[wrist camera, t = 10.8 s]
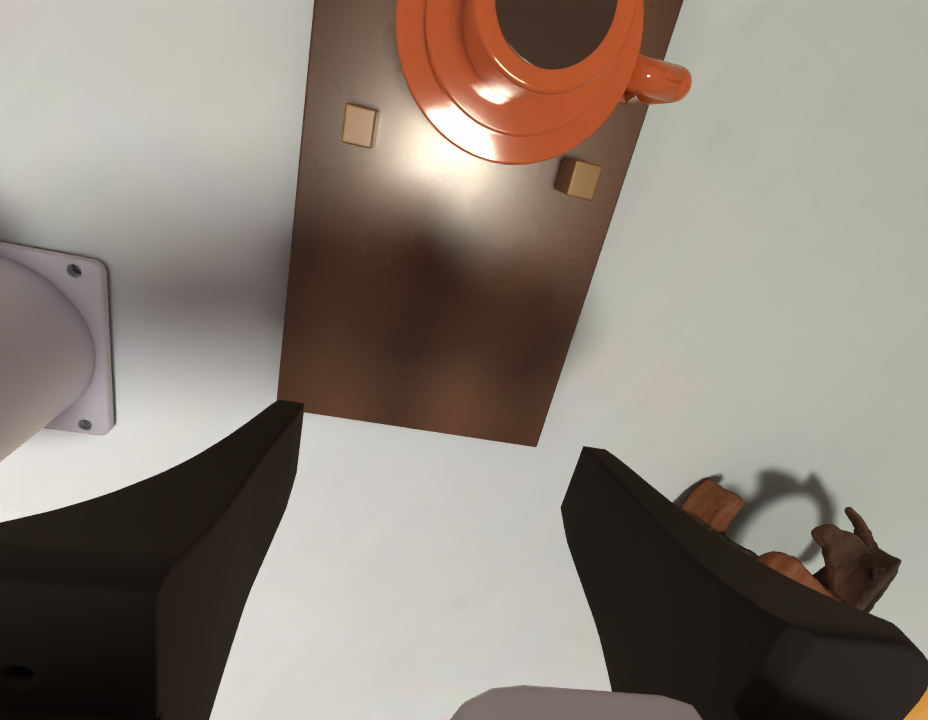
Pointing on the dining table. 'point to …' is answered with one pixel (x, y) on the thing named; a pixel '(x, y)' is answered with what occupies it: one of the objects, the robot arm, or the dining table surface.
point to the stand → (436, 246)
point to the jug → (527, 71)
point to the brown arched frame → (845, 554)
